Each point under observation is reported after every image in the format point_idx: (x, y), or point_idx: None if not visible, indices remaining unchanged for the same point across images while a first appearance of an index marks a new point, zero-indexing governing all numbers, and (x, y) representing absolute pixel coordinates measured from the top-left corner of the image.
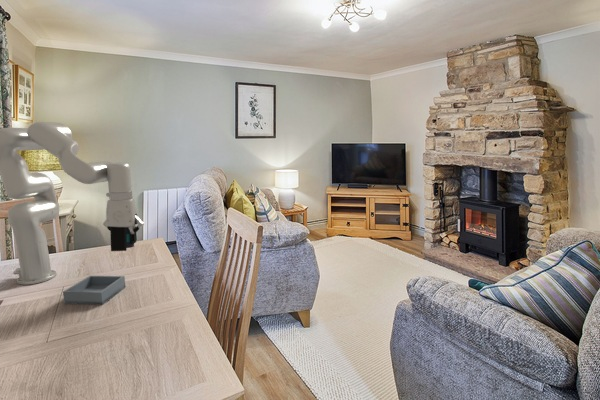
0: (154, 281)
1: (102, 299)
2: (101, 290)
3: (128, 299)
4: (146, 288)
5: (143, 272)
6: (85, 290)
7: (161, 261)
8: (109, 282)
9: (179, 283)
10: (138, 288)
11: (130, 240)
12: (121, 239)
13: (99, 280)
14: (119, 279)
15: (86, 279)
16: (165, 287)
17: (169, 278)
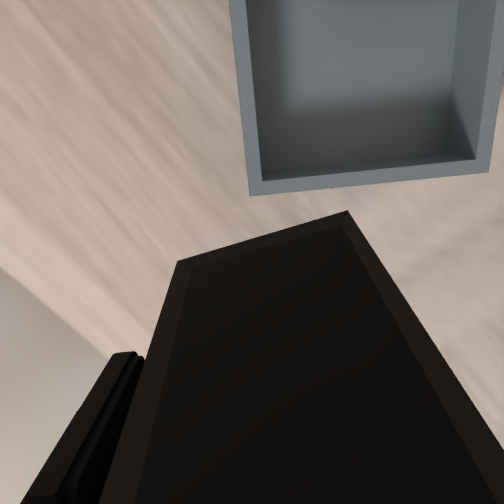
0: (149, 266)
1: None
2: (339, 93)
3: (127, 40)
4: (130, 186)
5: None
6: (437, 76)
7: None
8: (337, 166)
9: (9, 263)
10: (172, 179)
11: (110, 388)
12: (217, 358)
13: (404, 161)
14: (245, 141)
15: (479, 115)
16: (42, 211)
17: (100, 306)
